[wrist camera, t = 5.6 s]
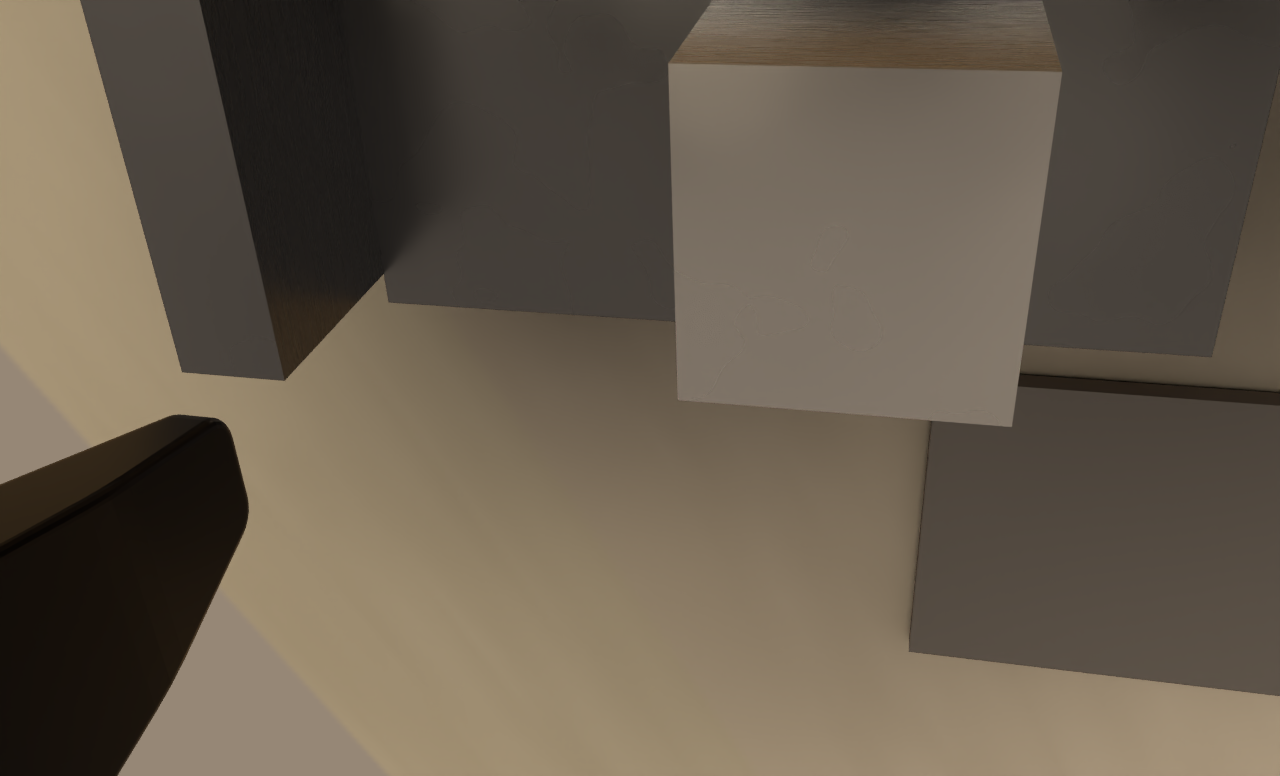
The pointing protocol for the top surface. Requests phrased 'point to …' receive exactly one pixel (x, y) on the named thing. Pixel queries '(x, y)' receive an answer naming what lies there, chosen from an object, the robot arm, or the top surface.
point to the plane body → (610, 163)
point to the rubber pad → (1108, 535)
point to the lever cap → (859, 203)
